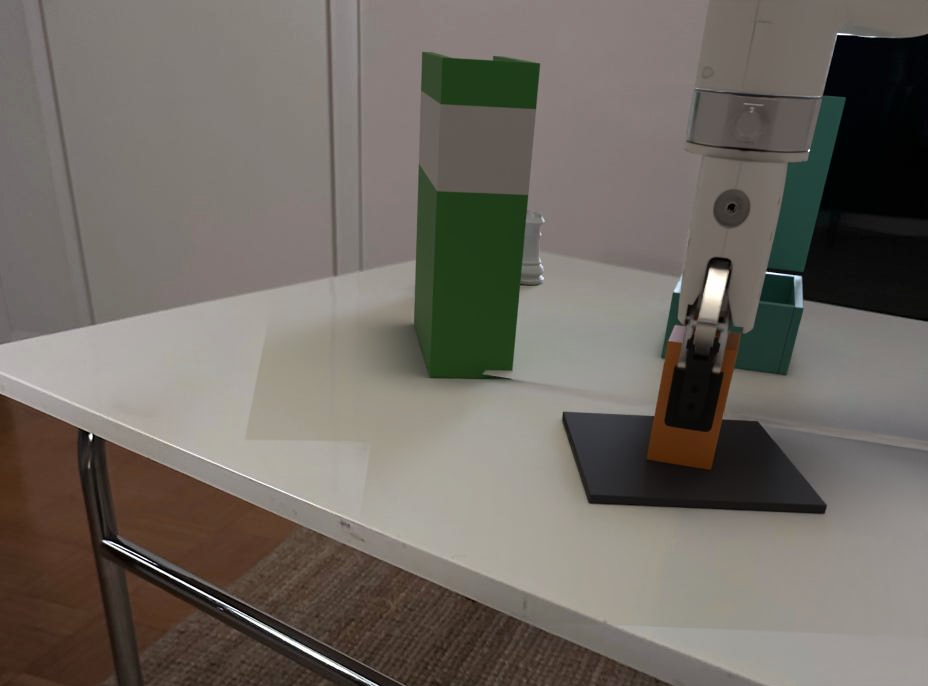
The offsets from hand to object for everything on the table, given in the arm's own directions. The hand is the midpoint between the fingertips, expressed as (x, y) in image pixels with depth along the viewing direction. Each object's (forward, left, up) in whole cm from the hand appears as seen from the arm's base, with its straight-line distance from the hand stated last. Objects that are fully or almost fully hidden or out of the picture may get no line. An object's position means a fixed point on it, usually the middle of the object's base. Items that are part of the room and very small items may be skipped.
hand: (692, 407), depth 66 cm
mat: (0, 0, -4) cm, 4 cm away
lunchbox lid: (-14, -37, +11) cm, 41 cm away
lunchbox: (-11, -29, -4) cm, 31 cm away
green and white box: (+16, -26, -4) cm, 31 cm away
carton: (0, 0, -4) cm, 4 cm away
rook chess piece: (+7, -57, -4) cm, 58 cm away
